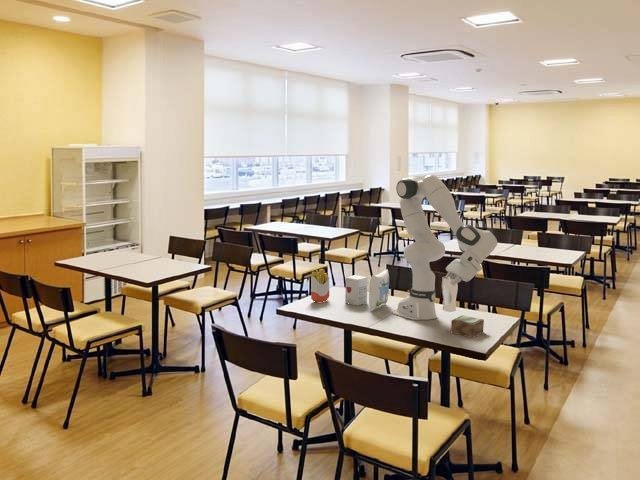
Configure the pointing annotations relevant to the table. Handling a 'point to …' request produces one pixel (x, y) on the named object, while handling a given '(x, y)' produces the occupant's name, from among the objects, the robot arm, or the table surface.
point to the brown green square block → (467, 326)
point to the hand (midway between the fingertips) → (448, 282)
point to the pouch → (378, 290)
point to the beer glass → (449, 293)
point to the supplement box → (356, 290)
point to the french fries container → (319, 286)
